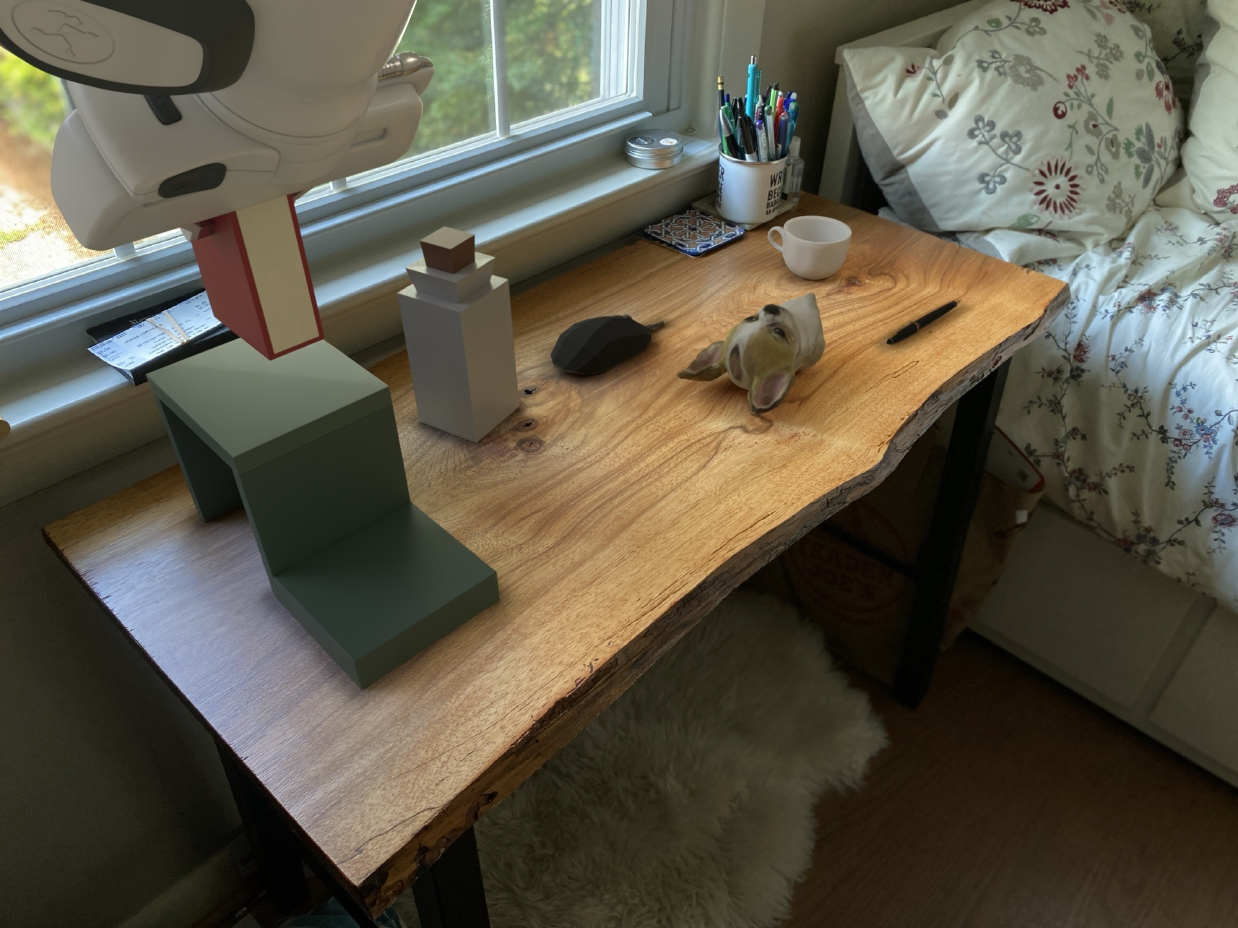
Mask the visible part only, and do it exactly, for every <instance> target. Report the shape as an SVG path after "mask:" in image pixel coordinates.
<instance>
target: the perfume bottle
mask: <svg viewBox="0 0 1238 928" xmlns="http://www.w3.org/2000/svg"><path fill="white" fill-rule="evenodd" d="M419 244H420V248H421V251H422V257H420V258H418V259H416V260H415V261H414V262H412V263H410V264H409V265H407V266H405V267H404V269H405V270H406V273H407V275H408V276H409V279H410V281H411V282H412V283H411V284H410V285H408V286H406V287H404V288H403V289H401V290H400V291H397V297H398V298H397V299H398V304H399V305H398V306H399V310H400V315H401V322H402V323H401V324H402V327H403V328H402V329H403V334H404V339H405V346H406V352H407V358H408V364H409V369H410V376H411V382H412V387H413V393H414V399H415V405H416V410H417V411H416V412H417V417H418V422H420V423H422V424H425V425H428V426H430V427H433V428H436V429H437V430H441V431H443V432H445V433H448V434H452V435H454V436H456V437H460V438H462V439H465V440H467V441H470V442H473V443H475V444H477V443H479V441H480V440H482V439H483V438H484V437H485V436H487V435H488V434H489V433H490V432H491V431H492V430H493V429H495V428H496V427H497V426H498V425H499V424H500V423H502V422H503V421H504V420H505V419H506V418H508V417H509V416H510V415H511V414H512V413H513V412H515V411H516V410H517V409H518V408H520V401H519V400H520V399H519V398H520V397H519V387H518V377H517V365H516V354H515V353H516V352H515V341H514V340H515V339H514V330H513V318H512V317H513V316H512V305H511V294H510V282H509V281H510V280H509V279H508V278H504V277H501V276H497V275H494V274H493V270H494V267H495V266H494V265H495V261H496V256H493V255H490V254H485V253H481V252H478V251H476V234H475V233H470V232H468V231H464V230H460V229H456V228H454V227H453V228H452V227H449V226H445V225H444V226H443V227H441V228H439V229H437V230H436V231H434V232H432V233H430V234H429V235H426V236H425V237H423V238H422V239H419Z"/></svg>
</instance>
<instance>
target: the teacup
mask: <svg viewBox="0 0 1238 928" xmlns="http://www.w3.org/2000/svg"><path fill="white" fill-rule="evenodd" d="M775 231H776V232H778V233H779V235H780V237H781V239H782V245H781V244H778V243H776V242H775V241H774V238H773V232H775ZM852 233H853V231H852V229H851V227H850V226H849V225H847V224H846V223H845V222H843V221H841V220H839V219H836V218H831V217H827V216H820V215H804V216H802V215H801V216H797V217H793V218H790V219H788V220H787V221H786V222H785V223H784V225H783V227H782V226H780V225H779V226H778V225H777V226H773V227H771V228H770V229H769V230H768V232H767V239H768V240H767V241H768V242H769V244H770V245H771V246H772V247H773V248H774V249H776V250H777V251H778V252H780V253H781V254H782V257H783V260H784V261H783V262H784V263H785V265H786V267H787V269H788V270H789V271H790V272H792V273H793V274H794V275H795V276H797V277H799V278H801V279H806V280H810V281H812V280H813V281H817V280H818V281H819V280H823V279H826V278H829V277H831V276H833V275H834V274H836V273H837V272H838V271H839V270H840V269H841V268H842V266H843V265H844V263H845V261H846V258H847V255H848V251H849V247H850V243H851V239H852Z"/></svg>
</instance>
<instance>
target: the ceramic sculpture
mask: <svg viewBox="0 0 1238 928" xmlns="http://www.w3.org/2000/svg"><path fill="white" fill-rule="evenodd" d="M825 347H826V341H825V336H824V328H823V323H822V319H821V314H820V309H819V306H818V302H817V298H816V295H815V293H814V292H808V293H806V294H805V295H802V296H798V297H795V298H791V299H787V300H785V301H784V302H782V303H781V304H775V303H769V304H765V305H763V306H761V307H760V308H759V309H758V310H757V312H756V313H754V314H753V315H752V314H751V315H750V316H747V317H745V318H744V319H742V320H741V321H740V322H739V324H736V325H733V327H731V329H730V330H729V331H728V334H727V336H726V337H725V339H724V340H718V341H713V342H711V343H710V344H709V345H708V346H707V347H705V348H703V349H701V350H700V351H699V353H698V354H697V355H696V358H694V359H693V360H692V361H691V362H690V363H689V365H688V367H687V368H685V369H683V370H681V371H679V372H678V373H677V377H678V378H679V379H680V380H681V379H682V380H688V381H693V382H702V383H703V382H713V381H715V380H717V379H719V378H720V377H722V376H723V375H724V374H726V373H727V376H728V378H729V380H730V381H731V382H732V383H733V384H735V386H737V387H739V388H741V389H743V390H746V391H748V392H747V397H746V399H747V402H748V405H749V408H750V414H751V415H752V416H758V415H761V414H766V413H769V412H772V411H773V410H774V409H777V408H779V406H780V405H781V404H782V403H783V402H784V400H785V399H786V398H787V397H788V395H789V394H790V392H791V390H792V388H793V386H794V385H795V380H796V375H795V373H796V372H797V371H798V370H799V369H803V370H808V369H811V368H812V367H814V366H815V365H816V364H817V363H818V362H819V361H820V360H821V358H822V357H823V355H824V352H825Z"/></svg>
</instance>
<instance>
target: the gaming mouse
mask: <svg viewBox="0 0 1238 928" xmlns="http://www.w3.org/2000/svg"><path fill="white" fill-rule="evenodd" d="M663 325H665V322H664V321H663V320H662V321H659V322H657V323H654V324H651V323H650V324H647V325H644V324H642V323H640V322H638V321H636V320H635V319H633V317H632V316H630V315H629V314H627V313H626V314H623V315H620V314H615V315H603V316H596V317H591V318H586V319H583V320H581V321H577V322H575V323H573V324H572V325H570V326H568V327H567V328H566V329H565V330H564V331H563V332H561V333H560V334H559V335H558V338H557V340H556V342H555V345H554V346H553V348H552V351H551V352H550V359H551V362H552V364H553V367H555V368H557V369H559V370H560V371H562V372H563V373H571V374H579V375H586V376H591V375H595V374H600V373H605V372H606V371H609V370H610V369H613V368H614V367H615V366H618V365H620V364H621V363H623V362H625V361H626V360H629V359H631V358H633V357H634V356H637V354H640V353H641V352H643V351H644V350H647V348H648V346H649V345H650V344H651V342H652V334H651V332H650V331H653V330H654V329H656V328H658V327H661V326H663Z"/></svg>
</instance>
